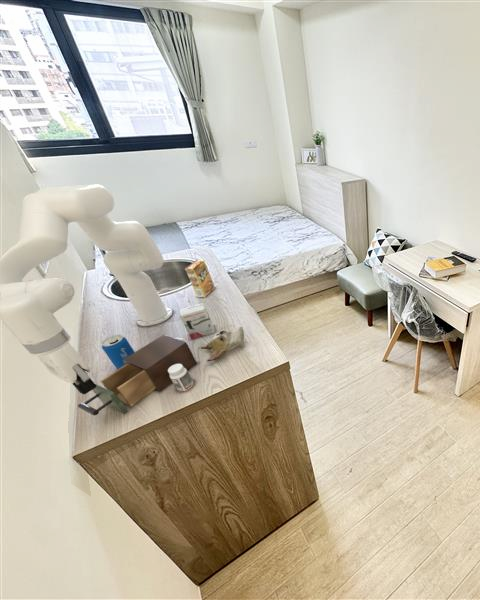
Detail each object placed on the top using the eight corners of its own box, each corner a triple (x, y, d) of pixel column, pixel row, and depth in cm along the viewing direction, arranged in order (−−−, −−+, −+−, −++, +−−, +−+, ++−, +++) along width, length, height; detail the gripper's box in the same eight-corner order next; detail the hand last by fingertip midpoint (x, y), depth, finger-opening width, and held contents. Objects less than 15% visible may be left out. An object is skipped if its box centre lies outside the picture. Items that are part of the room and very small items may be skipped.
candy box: (205, 297, 148) (193, 268, 139) (196, 297, 148) (184, 268, 140) (215, 287, 155) (204, 259, 147) (207, 287, 155) (195, 259, 147)
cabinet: (160, 392, 101) (145, 369, 95) (137, 382, 105) (122, 359, 99) (197, 363, 111) (186, 342, 106) (175, 355, 115) (163, 334, 109)
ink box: (191, 340, 122) (179, 315, 116) (190, 333, 126) (178, 309, 119) (215, 332, 126) (205, 308, 120) (213, 326, 130) (203, 302, 123)
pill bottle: (193, 378, 106) (184, 360, 101) (193, 388, 102) (183, 370, 98) (177, 383, 104) (166, 365, 99) (176, 394, 100) (165, 375, 96)
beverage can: (124, 375, 107) (105, 349, 100) (114, 369, 110) (96, 342, 103) (144, 363, 112) (128, 337, 105) (135, 357, 114) (118, 331, 108)
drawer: (106, 428, 89) (90, 409, 85) (85, 416, 92) (68, 398, 88) (164, 384, 103) (153, 365, 98) (144, 375, 106) (133, 357, 101)
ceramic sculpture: (245, 329, 113) (200, 350, 105) (253, 347, 118) (210, 368, 110) (236, 316, 120) (193, 335, 112) (244, 334, 125) (203, 352, 117)
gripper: (10, 342, 77) (57, 391, 87) (45, 358, 72) (90, 409, 83) (48, 324, 83) (87, 372, 93) (83, 338, 78) (120, 388, 88)
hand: (88, 389), depth 88 cm, fingers closed
